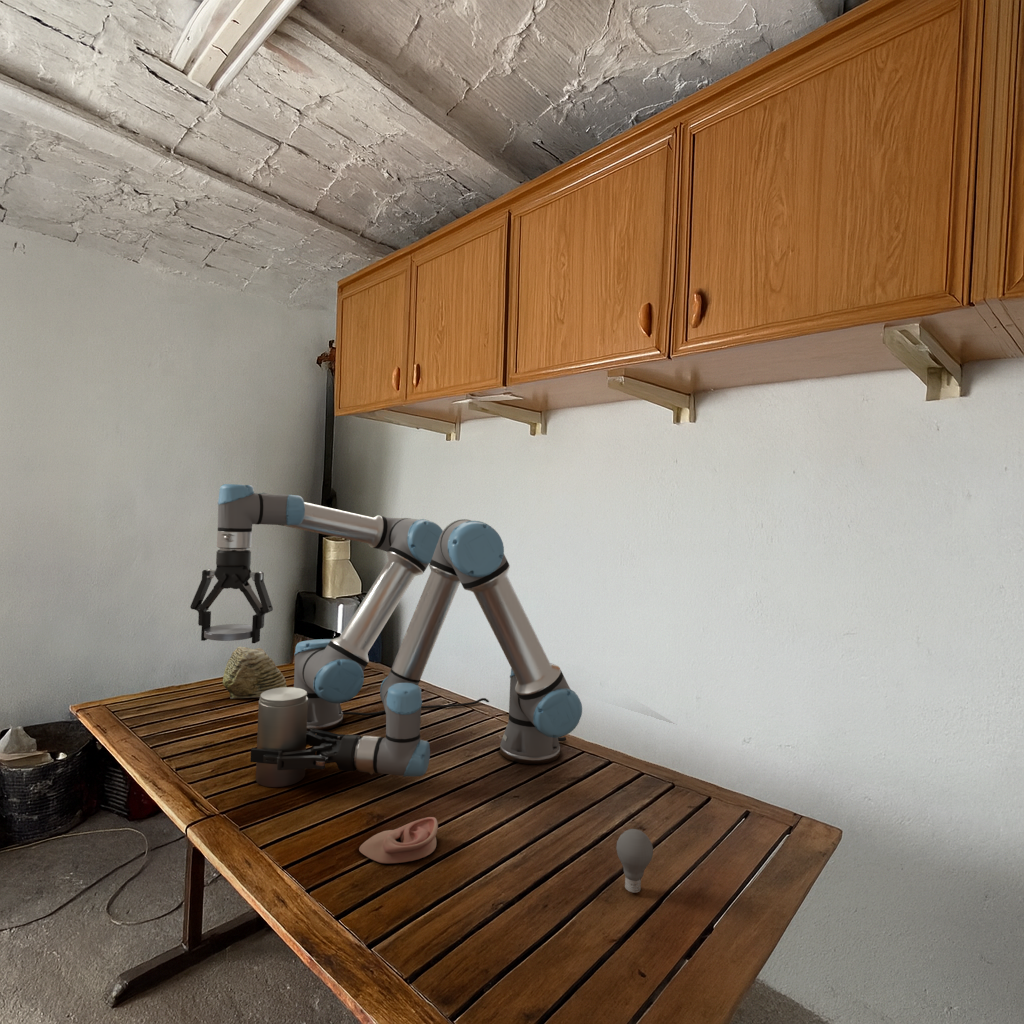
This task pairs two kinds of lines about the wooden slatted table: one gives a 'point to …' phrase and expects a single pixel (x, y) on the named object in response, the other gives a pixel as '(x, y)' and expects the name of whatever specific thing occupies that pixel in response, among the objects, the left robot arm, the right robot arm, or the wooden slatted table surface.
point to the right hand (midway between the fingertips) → (264, 745)
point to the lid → (228, 632)
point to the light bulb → (634, 857)
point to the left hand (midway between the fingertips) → (230, 640)
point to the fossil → (251, 673)
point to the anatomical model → (403, 842)
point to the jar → (281, 732)
